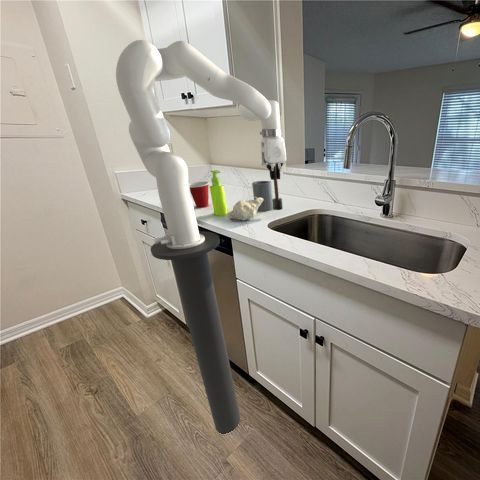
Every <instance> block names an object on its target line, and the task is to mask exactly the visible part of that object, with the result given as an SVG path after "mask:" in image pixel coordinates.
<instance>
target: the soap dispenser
mask: <svg viewBox="0 0 480 480" xmlns="http://www.w3.org/2000/svg"><path fill="white" fill-rule="evenodd" d="M210 173H212V177H211V178H210V180H211V185H209V191H210V197H211V201H212V208H213V213H214V215H215V216H218V217H220V216H225V215H228V213H229V211H228V206H227V199H226V192H225V187H224V185H223V184H221V181H220V177H218V174H220V173H221V171H220V170H217V169H213V170H210Z"/></svg>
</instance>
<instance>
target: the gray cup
mask: <svg viewBox="0 0 480 480" xmlns="http://www.w3.org/2000/svg"><path fill="white" fill-rule="evenodd" d="M251 186H252V187H251V188H252V194H253V200H255V199H256V198H259V197H261V198H263V200H264V201H263V202H262V203H261V205H260V206H259V207H258V210H257V212H267V211H268V212H269V211H273V202H272V199H274V198H273V197H274V196H273V185H272V181H270V180H257V181H253V182H252V183H251Z"/></svg>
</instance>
